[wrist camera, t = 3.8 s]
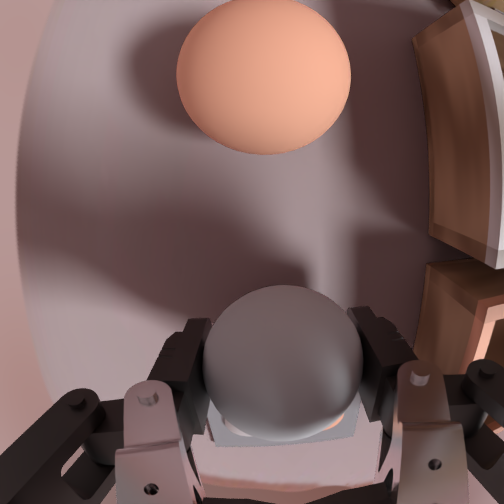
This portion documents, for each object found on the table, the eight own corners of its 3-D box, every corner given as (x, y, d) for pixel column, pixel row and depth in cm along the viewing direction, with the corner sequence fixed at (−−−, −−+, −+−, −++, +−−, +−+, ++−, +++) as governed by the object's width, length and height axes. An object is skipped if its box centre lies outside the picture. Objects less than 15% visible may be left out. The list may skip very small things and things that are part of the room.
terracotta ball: (192, 44, 9) (152, -20, 5) (320, 35, 9) (354, -33, 4) (201, 163, 11) (157, 162, 6) (335, 154, 11) (389, 147, 6)
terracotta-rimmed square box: (426, 263, 12) (488, 307, 7) (535, 249, 11) (588, 275, 7) (398, 406, 14) (425, 464, 10) (502, 372, 14) (536, 410, 9)
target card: (200, 383, 14) (198, 390, 13) (363, 371, 13) (366, 377, 13) (216, 442, 15) (215, 449, 14) (352, 432, 15) (354, 438, 14)
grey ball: (204, 267, 11) (167, 347, 6) (344, 257, 10) (402, 329, 6) (222, 376, 12) (207, 471, 7) (338, 367, 12) (368, 458, 7)
